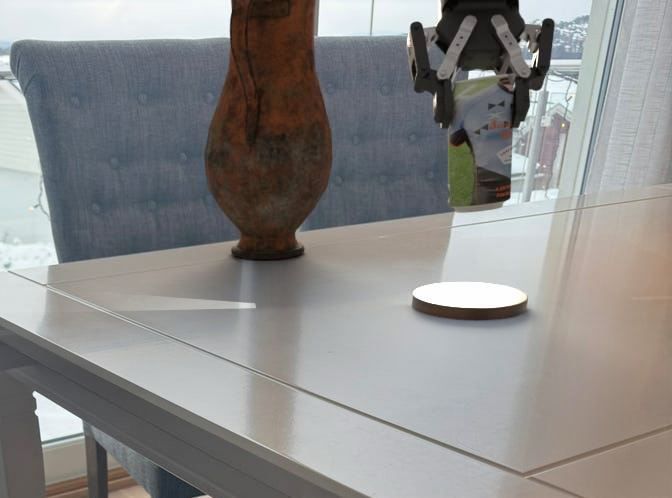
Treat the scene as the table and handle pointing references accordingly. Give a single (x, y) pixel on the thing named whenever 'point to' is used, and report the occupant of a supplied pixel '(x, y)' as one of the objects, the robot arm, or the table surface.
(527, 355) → the table surface
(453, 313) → the walnut puck
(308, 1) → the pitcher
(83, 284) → the table surface
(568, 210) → the table surface
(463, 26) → the robot arm
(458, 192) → the beverage can
